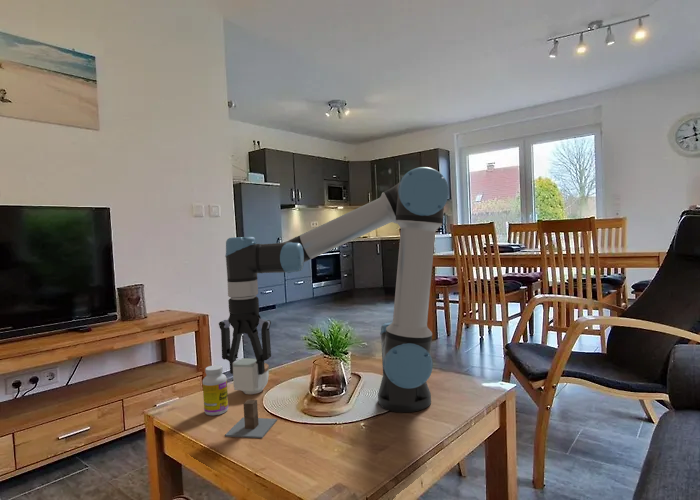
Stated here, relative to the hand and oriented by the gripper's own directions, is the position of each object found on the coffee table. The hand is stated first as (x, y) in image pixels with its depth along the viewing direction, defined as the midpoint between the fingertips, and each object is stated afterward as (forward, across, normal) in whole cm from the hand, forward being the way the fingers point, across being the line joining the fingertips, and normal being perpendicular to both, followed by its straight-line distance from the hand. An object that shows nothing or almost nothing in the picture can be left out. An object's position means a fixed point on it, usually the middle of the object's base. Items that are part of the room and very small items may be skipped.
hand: (248, 385), depth 112 cm
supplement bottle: (+12, +15, -9) cm, 21 cm away
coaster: (+11, 0, 0) cm, 11 cm away
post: (+11, 0, 0) cm, 11 cm away
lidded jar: (+11, +11, -25) cm, 30 cm away
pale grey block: (0, 0, 0) cm, 0 cm away
